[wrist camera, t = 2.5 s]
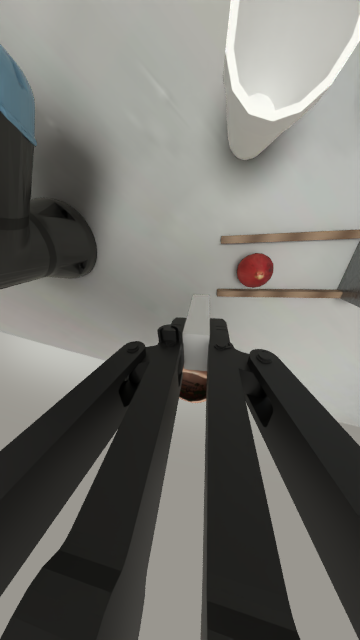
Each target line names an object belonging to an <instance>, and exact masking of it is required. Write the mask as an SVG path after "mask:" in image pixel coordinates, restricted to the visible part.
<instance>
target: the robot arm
mask: <svg viewBox="0 0 360 640" xmlns="http://www.w3.org/2000/svg"><path fill="white" fill-rule="evenodd" d="M34 128H35V103H34V97H33V93H32V90H31V87H30V85H29V83H28V81H27V79H26V77H25V75H24V74H23V72H22V70H21V69H20V67H19V66H18V65H17V63H16V62H15V61H14V60H13V58H12V57H11V56H10V55H9V53H8V52H7V51H6V50H5V49H4V48H3V47H2V45H1V44H0V289H3V288H7V287H10V286H14V285H18V284H21V283H25V282H29V281H32V280H36V279H39V278H43V277H58V278H77V277H80V276H83V275H86V274H87V273H89V272H90V271H91V270H92V268H93V267H94V265H95V262H96V256H97V250H96V243H95V240H94V237H93V234H92V232H91V230H90V228H89V226H88V224H87V223H86V221H85V220H84V219H83V217H82V216H81V215H80V214H79V213H78V212H77V211H76V210H75V209H73V208H72V207H71V206H69V205H68V204H66V203H64V202H61V201H58V200H54V199H49V198H35V199H31V200H30V198H31V183H32V168H33V153H34V146H35V147H36V145H37V142H36V140H35V138H34ZM158 337H159V343H158V345H156V346H150V347H145V345H144V344H143V343H142V342H139V341H134V342H130V343H127V344H126V345H124V346H123V347H122V348H120V349H119V350H118V351H117V352H116V353H115V354H113V355H112V356H111V357H110V358H109V359H108V360H106V361H105V362H104V363H103V364H102V365H101V366H99V367H98V368H97V369H96V370H95V371H94V372H92V373H91V374H90V375H89V376H88V377H87V378H85V379H84V380H83V381H82V382H81V383H79V384H78V385H77V386H76V387H75V388H74V389H73V390H71V391H70V392H69V393H68V394H67V395H65V396H64V397H63V398H62V399H61V400H60V401H58V402H57V403H56V404H55V405H54V406H53V407H51V408H50V409H49V410H48V411H47V412H46V413H45V414H43V415H42V416H41V417H40V418H39V419H37V420H36V421H35V422H34V423H33V424H32V425H30V427H28V428H27V429H26V430H24V431H23V432H22V433H21V434H20V435H19V436H17V438H15V439H14V440H13V441H12V442H10V443H9V444H8V445H7V446H6V447H5V448H3V449H2V450H1V451H0V596H1V595H2V594H3V592H4V591H5V589H6V588H7V586H8V585H9V584H10V582H11V580H12V579H13V578H14V576H15V575H16V574H17V572H18V571H19V569H20V568H21V566H22V565H23V563H24V562H25V561H26V559H27V558H28V556H29V555H30V553H31V552H32V551H33V549H34V548H35V546H36V545H37V544H38V542H39V541H40V539H41V538H42V536H43V535H44V534H45V532H46V531H47V529H48V528H49V526H50V525H51V524H52V522H53V521H54V519H55V518H56V516H57V515H58V514H59V512H60V511H61V509H62V508H63V506H64V505H65V504H66V502H67V501H68V499H69V498H70V497H71V495H72V494H73V492H74V491H75V489H76V488H77V487H78V485H79V484H80V482H81V481H82V479H83V478H84V477H85V475H86V474H87V472H88V471H89V469H90V468H91V467H92V465H93V464H94V462H95V461H96V459H97V458H98V457H99V455H100V454H101V452H102V451H103V449H104V448H105V447H106V445H107V444H108V442H109V441H110V439H111V438H112V437H113V435H114V434H115V432H116V431H117V429H118V431H117V433H116V435H115V437H114V439H113V441H112V443H111V445H110V448H109V450H108V452H107V454H106V456H105V458H104V461H103V463H102V465H101V467H100V469H99V471H98V474H97V475H96V478H95V480H94V482H93V484H92V486H91V488H90V490H89V492H88V494H87V497H86V499H85V501H84V503H83V505H82V507H81V510H80V512H79V514H78V516H77V518H76V520H75V522H74V524H73V526H72V529H71V531H70V532H69V534H68V536H67V538H66V540H65V542H64V543H63V545H62V546H61V548H60V549H59V550H58V551H57V552H56V553H55V555H54V556H53V557H52V558H51V559H50V560H49V561H48V562H47V563H46V564H45V565H44V566H43V567H42V569H41V570H40V572H39V573H38V574H37V576H36V577H35V579H34V580H33V581H32V583H31V585H30V586H29V587H28V589H27V591H26V592H25V594H24V596H23V598H22V600H21V601H20V603H19V605H18V606H17V608H16V610H15V612H14V614H13V616H12V617H11V619H10V621H9V623H8V625H7V627H6V629H5V631H4V633H3V635H2V636H1V639H0V640H138V636H139V631H140V624H141V618H142V612H143V605H144V597H145V584H146V575H147V568H148V562H149V557H150V551H151V546H152V541H153V535H154V530H155V524H156V519H157V513H158V508H159V503H160V497H161V492H162V486H163V480H164V476H165V469H166V465H167V459H168V454H169V448H170V442H171V438H172V432H173V427H174V421H175V416H176V411H177V405H178V400H179V394H180V389H181V384H182V378H183V366H184V369H188V370H199V371H207V383H206V387H207V392H206V440H205V441H206V442H205V489H204V536H203V583H202V614H201V640H300V638H299V635H298V633H297V630H296V626H295V623H294V620H293V617H292V613H291V609H290V605H289V601H288V596H287V592H286V587H285V583H284V579H283V573H282V569H281V564H280V559H279V555H278V551H277V545H276V541H275V536H274V531H273V527H272V522H271V518H270V513H269V508H268V504H267V499H266V494H265V490H264V485H263V481H262V476H261V472H260V467H259V462H258V457H257V453H256V449H255V444H254V439H253V434H252V430H251V425H250V420H249V416H248V411H247V406H246V403H247V405H248V407H249V409H250V412H251V414H252V416H253V418H254V420H255V422H256V424H257V426H258V428H259V430H260V433H261V435H262V437H263V438H264V441H265V443H266V445H267V447H268V449H269V451H270V454H271V456H272V458H273V460H274V462H275V464H276V466H277V468H278V470H279V472H280V474H281V477H282V479H283V481H284V483H285V485H286V487H287V489H288V491H289V493H290V496H291V498H292V500H293V501H294V504H295V506H296V508H297V510H298V512H299V514H300V516H301V518H302V521H303V523H304V525H305V527H306V529H307V531H308V533H309V535H310V537H311V540H312V542H313V544H314V546H315V548H316V550H317V552H318V554H319V556H320V558H321V561H322V563H323V565H324V567H325V569H326V571H327V573H328V575H329V577H330V580H331V581H332V584H333V586H334V588H335V590H336V592H337V594H338V596H339V598H340V600H341V603H342V605H343V607H344V609H345V611H346V613H347V615H348V617H349V619H350V622H351V623H352V626H353V628H354V630H355V632H356V634H357V636H358V638H359V640H360V446H359V445H358V444H357V443H356V442H355V441H354V440H353V438H352V437H351V436H350V435H349V434H348V433H347V432H346V431H345V430H344V429H343V428H342V426H340V424H339V423H338V422H337V421H336V420H335V419H334V418H333V417H332V416H331V414H330V413H329V412H328V411H327V410H326V409H325V408H324V407H323V406H322V405H321V404H320V403H319V401H318V400H317V399H316V398H315V397H314V396H313V395H312V394H311V393H310V392H309V391H308V390H307V388H306V387H305V386H304V385H303V384H302V383H301V382H300V381H299V380H298V379H297V378H296V377H295V375H294V374H293V373H292V372H291V371H290V370H289V369H288V368H287V367H286V366H285V365H284V364H283V362H282V361H281V360H280V359H279V358H278V357H277V356H276V355H274V354H273V353H271V352H269V351H267V350H263V349H255V350H252V351H251V352H250V354H247V353H243V352H240V351H238V350H236V349H235V348H234V347H233V345H232V343H230V339H229V334H228V329H227V324H226V322H225V321H224V320H223V319H212V318H210V295H193V297H192V301H191V304H190V308H189V312H188V315H187V318H175V319H174V320H173V321H172V323H171V325H164V326H162V327H160V328H159V329H158ZM245 401H246V402H245Z"/></svg>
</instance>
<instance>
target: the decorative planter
mask: <svg viewBox="0 0 360 640" xmlns="http://www.w3.org/2000/svg"><path fill="white" fill-rule="evenodd" d="M206 383H207V371H199V370H188V369H184V366H183V378H182V384H181V389H180V394H179V398H180V399H182V400H185V401H188V402H192V403H199V402H204V401H206V392H207V387H206Z"/></svg>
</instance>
